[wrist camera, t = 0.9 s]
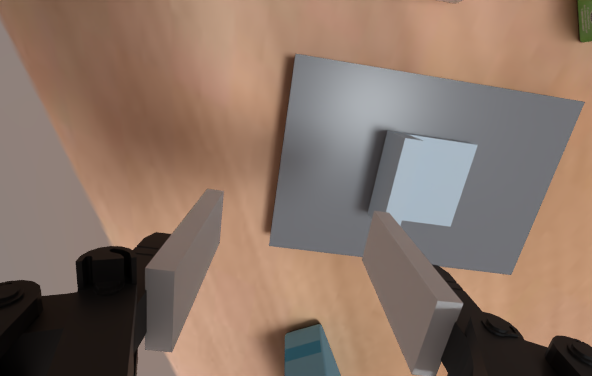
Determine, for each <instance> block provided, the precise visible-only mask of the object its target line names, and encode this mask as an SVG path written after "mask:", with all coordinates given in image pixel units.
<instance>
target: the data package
mask: <svg viewBox="0 0 592 376" xmlns="http://www.w3.org/2000/svg"><path fill="white" fill-rule="evenodd" d="M285 376H341V375H340V372H339V369H338V367H337V364H336V361H335V359H334V356H333V354H332V351H331V348H330V346H329V343H328V340H327V338H326V335H325V332H324V330H323V327H322V325H321V324H317V325H314V326H310V327H307V328H303V329H300V330H296V331H293V332H289V333H287V334H286V335H285Z"/></svg>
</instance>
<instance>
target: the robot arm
mask: <svg viewBox="0 0 592 376" xmlns="http://www.w3.org/2000/svg"><path fill="white" fill-rule="evenodd" d="M223 195H224V191H221V190H213V189H207V190H206V191H205V192H204V194H203V195H202V196H201V197H200V199H199V200H198V201H197V203H196V204H195V205H194V206H193V208H192V209H191V210H190V211H189V213H188V214H187V215H186V217H185V218H184V219H183V220H182V222H181V223H180V224H179V225H178V227H177V228H176V229H175V231H174V232H173V233H172V234H166V233H158V232H156V233H154V234H152V235H150V236H147V237H145V238H144V239H143V240H142V241H141V242H140V243H139V244H138V245H137V247H135V248H134V249H133V250H131V249H129V248H125V247H120V246H109V247H102V248H97V249H94V250H91V251H88V252H87V253H85V254H83V255H81V256H80V257H79V258H78V260H77V261H76V272H77V284H78V292H75V293H69V294H59V295H49V296H41V289H40V285H38V284H37V283H35V282H33V281H25V280H17V281H7V282H4V283H3V282H2V283H0V376H136V375H137V363H138V346H139V345H140V343H141V341H142V340H143V338H144V336H145V350H154V351H164V352H172V351H173V349H174V346H175V344H176V342H177V340H178V337H179V335H180V333H181V330H182V328H183V326H184V323H185V321H186V319H187V317H188V314H189V312H190V310H191V307H192V305H193V303H194V300H195V298H196V296H197V293H198V291H199V289H200V287H201V284H202V282H203V280H204V277H205V275H206V273H207V270H208V268H209V266H210V264H211V261H212V259H213V257H214V254H215V252H216V250H217V247H218V245H219V243H220V231H221V219H222V207H223ZM362 261H363V263H364V266H365V268H366V270H367V272H368V275H369V277H370V279H371V282H372V284H373V286H374V289H375V291H376V293H377V295H378V298H379V300H380V302H381V305H382V307H383V309H384V311H385V314H386V316H387V318H388V321H389V323H390V325H391V328H392V330H393V332H394V334H395V337H396V339H397V341H398V344H399V346H400V348H401V351H402V353H403V355H404V357H405V360H406V362H407V364H408V367H409V369H410V371H411V374H413V375H423V376H436V374H437V371H438V369H439V366H440V364H441V361H442V363H443V365H444V366H445V368H446V370H447V372H448V375H447V376H592V347H591V346H590V345H588V344H586V343H584V342H581V341H580V340H577V339H573V338H570V337H566V336H555V337H554V338H553V339H552V341H551V343H550V345H549V346H548V348H547V347H544V346H541V345H538V344H535V343H532V342H528V341H525V340H524V338H523V336H522V335H521V334H520V332H519V331H518V330H517V329H516V328H515V327H514V326H512V325H511V324H510V323H509V322H507V321H505V320H504V319H502V318H500V317H498V316H495V315H493V314H490V313H486V312H482V311H481V310H480V308H479V307H478V306H477V305H476V304H475V303H474V301H473V300H472V299H471V298H470V297H469V296H468V295H467V293H466V292H465V291H463V289H462V288H461V287H460V285H459V284H457V283H456V281H455V280H454V279H453V277H452V276H451V275H450V274H449V273H448V272H446V271H445V270H444V269H442V268H441V267H439V266H438V265H432V264H431V263H430V262H429V261H428V259H427V258H426V257H425V256H424V255H423V253H422V252H421V251H420V250H419V248H418V247H417V246H416V245H415V244H414V242H413V241H412V240H411V239H410V237H409V236H408V235H407V234H406V233H405V231H404V230H403V229H402V228H401V226H400V225H399V224H398V223H397V222H396V220H395V219H394V218H393V217H392V215H391V214H390V213H388V212H380V211H374V213H373V217H372V221H371V225H370V230H369V234H368V238H367V242H366V246H365V250H364V254H363V258H362Z"/></svg>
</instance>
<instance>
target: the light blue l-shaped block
mask: <svg viewBox="0 0 592 376" xmlns="http://www.w3.org/2000/svg"><path fill="white" fill-rule="evenodd" d="M477 146H478V145H476V144H473V143H467V142H460V141H453V140H447V139H440V138H434V137H427V136H421V135H414V134H407V133H401V132H394V131H388V130H387V135H386V139H385V143H384V147H383V151H382V155H381V160H380V164H379V168H378V172H377V176H376V180H375V185H374V189H373V193H372V197H371V201H370V205H369V209H368V214H369V216H370V217H371V219H372V217H373V213H374V211H380V212H388V213H390V214H391V215H392V217H393V218H394V219H395V220H396V222H397V223H398V224H399V225H400V226H401V222H402V220H403V221H411V222H418V223H426V224H434V225H441V226H449V227H451V224H452V221H453V218H454V215H455V212H456V209H457V206H458V203H459V200H460V197H461V194H462V191H463V188H464V185H465V182H466V179H467V176H468V173H469V170H470V167H471V164H472V161H473V158H474V155H475V152H476V149H477Z"/></svg>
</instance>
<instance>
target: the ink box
mask: <svg viewBox="0 0 592 376" xmlns="http://www.w3.org/2000/svg"><path fill="white" fill-rule="evenodd" d="M577 1H578V17H579V33H580V41H581V42H590V41H592V0H577Z"/></svg>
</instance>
